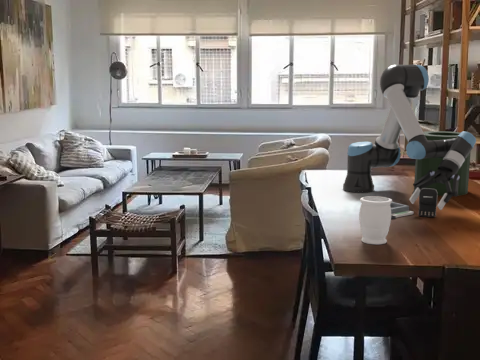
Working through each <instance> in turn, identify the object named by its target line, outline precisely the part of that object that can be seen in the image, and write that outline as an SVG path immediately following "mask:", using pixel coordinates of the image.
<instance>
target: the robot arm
mask: <svg viewBox="0 0 480 360" xmlns="http://www.w3.org/2000/svg"><path fill="white" fill-rule="evenodd" d="M429 79H430V77H429V73H428V71H427V69H426V67H425V66H423V65H421V64H416V63H415V64H414V63H413V64H397V63H396V64H391V65H389V66H387V67H386V68H385V69H383V72H382V73H381V76H380V80H379V87H380V91H381V94H382V95H383V98H386V99H387V100H388V101H387V102H388V103H389V104H390V108H389V110H388V113H387V116H386V120H385V121H384V124H383V127H382V131H381V133H380V135H379V136H377V137H376V139H375V141H374V143H373V142H371V141H357V142H352V143H350V144H349V145H348V148H347V163H346V164H347V165H346V166H347V170H346V176H345V179H344V183H343V184H342V190H343V189H344V191H345V190H346V191H345V192H349V191H350V192H351V193H360V194H361V193H372V192H374V191H375V185H374V181H373V177H372V169H374V168H389V167H393V166H396V165H397V164H398V163H399V162H400V159H401V156H402V153H401V147H400V143H399V142H398V141H399V138H400V135H401V134H402V132H403V135H404V137H405V139H406V141H407V144H406V147H405V151H406V155H407V156H408V158H409V159H412V160H416V159H424V158H443V160H442V161H441V163H440V165H439V166H438V170H437V171H436V172H434V171H432V170H429V171H428V173H427V174H425V175H424V176H423V177H421V178H420V179H419V180H418V181H416V182H415V183H414V182H413V183H412V185H413V191H412V193H411V196H410V197H409V198H408V200H409V201H410V203H411V204H412V205H414V204H415V202H416V201H417V200H418V199H419V193H420V190H421V189H422V188H426V187H428V186H430V185H431V184H433V183H434V184H435V183H442V184H444V183H445V185H446V189H447V193H448V194H447V193H445V194H444V195H443V196H442V197H441V199H440V201H438V202H437V207H436V208H438V209H439V211H442V210H443V209H444V207H445V205H446V204H448V203H449V201H450V200H451V199H452V198H453V197H456V198H457V197H458V183H459V180H460V177H459V175H458V174H457V172H458V170H459V168H460V167H461V165H462V164H463V162H464V161H465V159H466V158H467V156H468V155H469V153H470V152H472V150H473V149H474V147H475V144H476V143H477V138H476V136H474V135H473V133H471V132H469V131H461V132H460V134H459V135H458V137H457V138H453V139H446V140H427V139H426V137H425V135H424V133H423V132H424V130H423V129H422V127H421V124H420V122H419V120H418V118H417V116H416V114H415V112H414V109H413V107H412V103H413V101H414V100H415V99H416V98H418V97H419V94H420V92H421V91H424V90H426V89H427V88H428V86H429V82H430V81H429ZM433 178H435V180H434V179H433ZM452 179H453V189H452V190H451V186H450V180H452ZM414 187H415V189H414Z"/></svg>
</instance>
